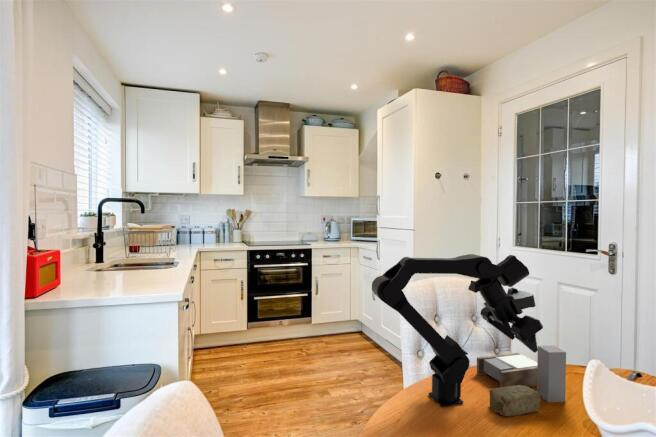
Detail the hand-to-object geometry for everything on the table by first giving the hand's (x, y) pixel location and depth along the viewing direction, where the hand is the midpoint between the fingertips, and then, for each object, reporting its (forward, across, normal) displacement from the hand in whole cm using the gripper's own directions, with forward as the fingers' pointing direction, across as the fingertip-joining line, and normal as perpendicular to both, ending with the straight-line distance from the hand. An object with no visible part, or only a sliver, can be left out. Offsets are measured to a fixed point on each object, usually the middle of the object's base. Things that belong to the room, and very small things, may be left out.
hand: (524, 344), depth 96 cm
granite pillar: (+15, -2, +2) cm, 15 cm away
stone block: (+8, -6, +13) cm, 17 cm away
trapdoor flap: (+12, +10, +4) cm, 16 cm away
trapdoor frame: (+13, +10, +5) cm, 17 cm away
